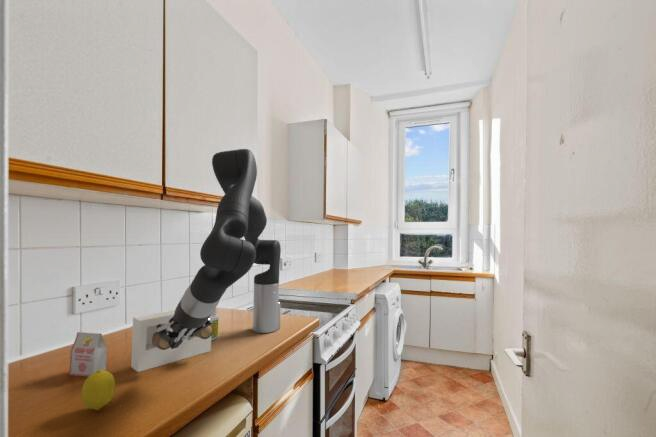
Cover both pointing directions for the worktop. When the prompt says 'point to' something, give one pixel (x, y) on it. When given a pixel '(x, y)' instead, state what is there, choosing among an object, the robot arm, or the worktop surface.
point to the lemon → (98, 389)
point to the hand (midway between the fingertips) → (173, 345)
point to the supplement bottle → (214, 325)
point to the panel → (152, 356)
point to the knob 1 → (159, 342)
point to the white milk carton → (87, 354)
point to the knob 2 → (205, 332)
